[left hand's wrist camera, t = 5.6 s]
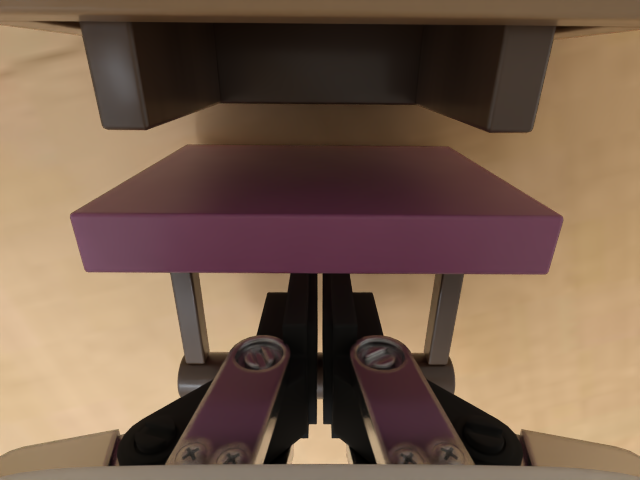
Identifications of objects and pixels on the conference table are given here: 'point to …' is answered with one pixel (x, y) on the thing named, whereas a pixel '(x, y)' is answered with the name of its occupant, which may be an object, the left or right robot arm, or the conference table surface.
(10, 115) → the conference table surface
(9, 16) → the cabinet
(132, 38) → the drawer
